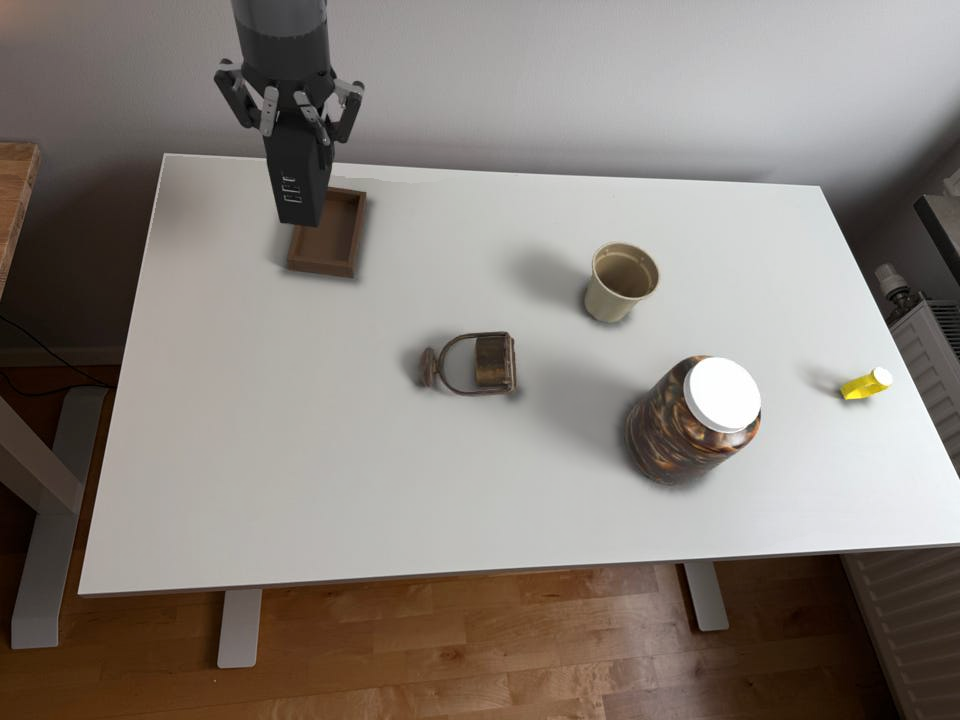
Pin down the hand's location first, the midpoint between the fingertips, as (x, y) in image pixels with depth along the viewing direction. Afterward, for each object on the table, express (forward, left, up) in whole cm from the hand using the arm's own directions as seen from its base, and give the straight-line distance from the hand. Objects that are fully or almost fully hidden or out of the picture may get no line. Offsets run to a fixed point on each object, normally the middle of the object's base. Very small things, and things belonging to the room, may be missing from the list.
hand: (302, 160), depth 65 cm
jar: (+48, -20, -20) cm, 55 cm away
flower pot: (+41, 0, -20) cm, 45 cm away
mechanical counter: (+22, -13, -20) cm, 32 cm away
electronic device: (0, 0, -5) cm, 5 cm away
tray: (+1, +6, -20) cm, 21 cm away
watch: (+77, -10, -20) cm, 80 cm away
